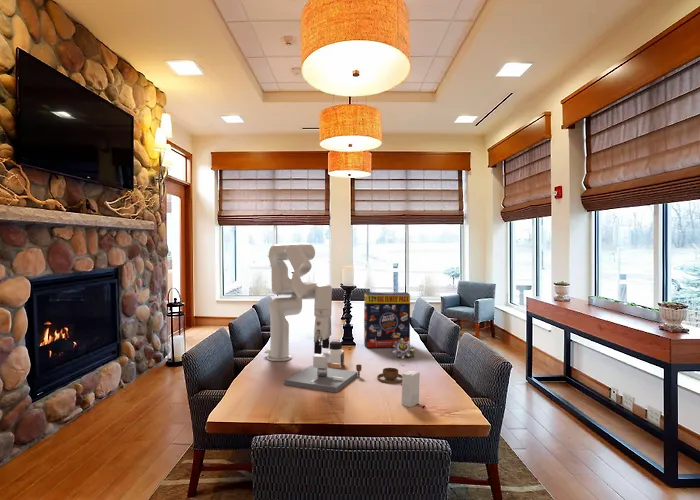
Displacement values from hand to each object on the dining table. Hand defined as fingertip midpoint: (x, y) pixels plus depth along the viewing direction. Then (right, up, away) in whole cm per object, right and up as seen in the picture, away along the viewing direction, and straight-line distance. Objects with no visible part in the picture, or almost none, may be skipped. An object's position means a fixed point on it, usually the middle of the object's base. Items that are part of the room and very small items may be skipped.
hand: (321, 350), depth 194 cm
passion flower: (+41, -13, +42) cm, 60 cm away
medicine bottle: (+5, -13, +23) cm, 26 cm away
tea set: (+27, -14, +5) cm, 31 cm away
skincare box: (+35, -14, -28) cm, 47 cm away
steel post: (0, -11, 0) cm, 11 cm away
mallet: (+3, -7, -1) cm, 7 cm away
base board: (0, -13, 0) cm, 13 cm away
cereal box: (+34, -12, +66) cm, 75 cm away
